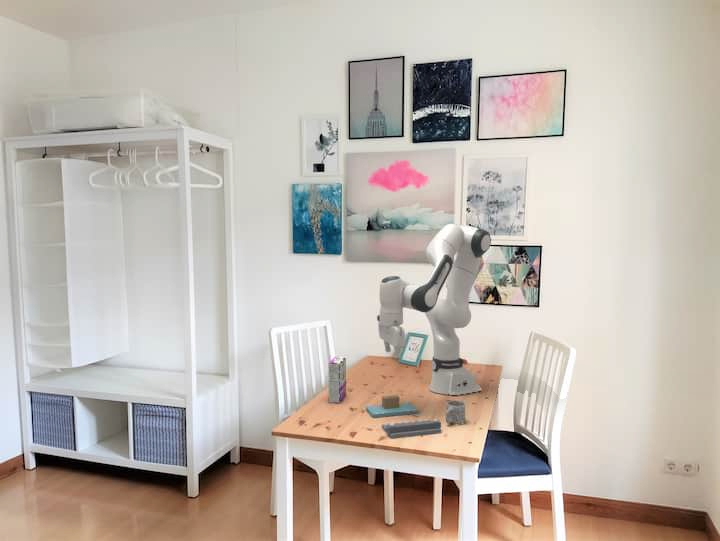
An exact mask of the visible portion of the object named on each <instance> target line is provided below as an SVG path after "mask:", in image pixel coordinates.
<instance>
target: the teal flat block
mask: <svg viewBox="0 0 720 541" xmlns="http://www.w3.org/2000/svg"><path fill="white" fill-rule="evenodd" d="M365 410H366V412H367V413H368V414H369V415H370V416H371V417H372V418H382V417H391V416H392V417H393V416H403V415H414V414H419V409H418V408H417V407H416V406H414V405H413V404H412V403H411V402H402V403H400V396H399V395H397V394H394V395H393V394H392V395H382V396H381V405H379V404H378V405H371V406H369V405H367V406H365Z"/></svg>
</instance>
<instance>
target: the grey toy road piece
mask: <svg viewBox="0 0 720 541" xmlns="http://www.w3.org/2000/svg"><path fill="white" fill-rule="evenodd" d="M441 428H442V422H441V421H440V420H439V419H437V418H433V420H431V419H420V420H412V421H399V422H390V423H382V424H381V429H382V430H383V429H384V430H383V431H384V432H385V433H386V434H387V435H388V437H389V438H390V439H397V438H398V437H399V438H405V436H408V437H415V436H416V435H417V436H424V435H434V434H441V433H442V429H441ZM399 438H398V439H399Z"/></svg>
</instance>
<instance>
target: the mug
mask: <svg viewBox="0 0 720 541" xmlns="http://www.w3.org/2000/svg"><path fill="white" fill-rule="evenodd" d="M464 422H465V423H466V403H465V401H461V400H449V401H447V402H446V411H445V423H447V424H450V423H451V424H450V425H455V424H460V425H463V424H462V423H464ZM465 423H464V424H465Z"/></svg>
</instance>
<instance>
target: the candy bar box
mask: <svg viewBox="0 0 720 541" xmlns="http://www.w3.org/2000/svg"><path fill="white" fill-rule="evenodd" d="M346 396H347V358H346V356H338V355H337V356H334V357H333V358H332V359H331V360H330V361H329V362H328V403H330V404H341V403H342V401H343V400H344V399H345V397H346Z"/></svg>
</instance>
